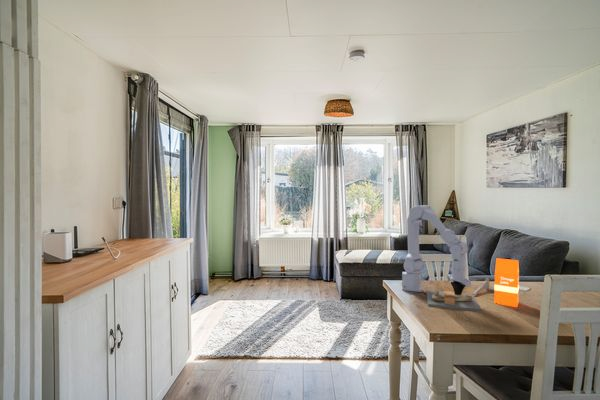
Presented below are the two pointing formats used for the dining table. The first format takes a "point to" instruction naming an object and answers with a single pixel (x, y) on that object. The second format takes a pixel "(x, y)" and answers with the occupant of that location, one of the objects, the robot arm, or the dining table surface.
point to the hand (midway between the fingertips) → (458, 297)
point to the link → (457, 297)
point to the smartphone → (523, 288)
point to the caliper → (482, 287)
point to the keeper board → (452, 301)
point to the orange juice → (506, 282)
